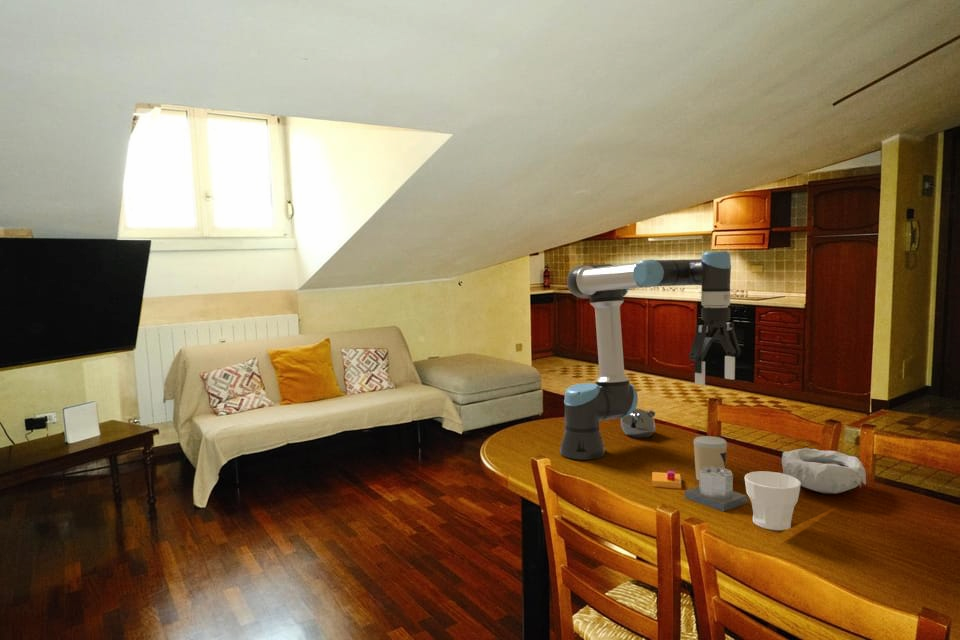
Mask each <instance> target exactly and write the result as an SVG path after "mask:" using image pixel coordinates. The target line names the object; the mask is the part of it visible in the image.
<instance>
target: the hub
mask: <svg viewBox="0 0 960 640" xmlns="http://www.w3.org/2000/svg"><path fill="white" fill-rule="evenodd" d="M710 472H720V473H721V474H712V473H710ZM733 481H734V473H732V471H731V469H727V468H726V467H725V468H721V467H709V466H706V467H703V468H700V469H699V481H698V486H699V491H700V493H701V495H704V496H707V497H710V498H718V499H726V498H729V497H731V496H733V489H734V488H733V485H734V483H733Z"/></svg>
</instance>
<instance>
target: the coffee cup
mask: <svg viewBox="0 0 960 640" xmlns="http://www.w3.org/2000/svg"><path fill="white" fill-rule="evenodd" d="M692 442H693V449H694V450H693V451H694V453H693V454H694V466H695V467H694V469H695V478H696V480H697V481H698V480H699V469H700V468H703V467H706V466H709V467H721V468H725V469H726V460H727V448H728V443H727V441H726V439H724V438H722V437H719V436H712V435H711V436H710V435H700V436H696V437H695V438H694V439H693V441H692Z"/></svg>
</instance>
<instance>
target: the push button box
mask: <svg viewBox="0 0 960 640" xmlns="http://www.w3.org/2000/svg"><path fill="white" fill-rule="evenodd" d="M651 477H652V478H651V482H652V485H651V486H652V487H653V488H667V489H678V490H679V489H680V490H681V489H682V480H681V478H682V477H681V473H676V472H675V471H673V470H672V471H671V470H667V471H666V472H657V471H652V473H651Z"/></svg>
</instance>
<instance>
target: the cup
mask: <svg viewBox="0 0 960 640" xmlns="http://www.w3.org/2000/svg"><path fill="white" fill-rule="evenodd" d="M743 479H744V484H745V491H746V494H747V495H748V496H747V497H748V498H749V500H750V502H751V507H752V513H753V514H752V522H753V524H755V525H756V526H758V527H759V528H762V529H766V530H771V531H785V530H789V529H790V528H791V526H792V518H793V514H794V510H795V506H796V505H797V503H798V502H799V496H800V491H801V487H802V486H801V482H800V481H799V480H798V479H797V478H794V477H792V476H790V475H786V474H784V473H783V472H776V471H775V472H774V471H765V470H763V471H762V470H760V471H750V472H749V473H746V474H745V475H744V478H743Z"/></svg>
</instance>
